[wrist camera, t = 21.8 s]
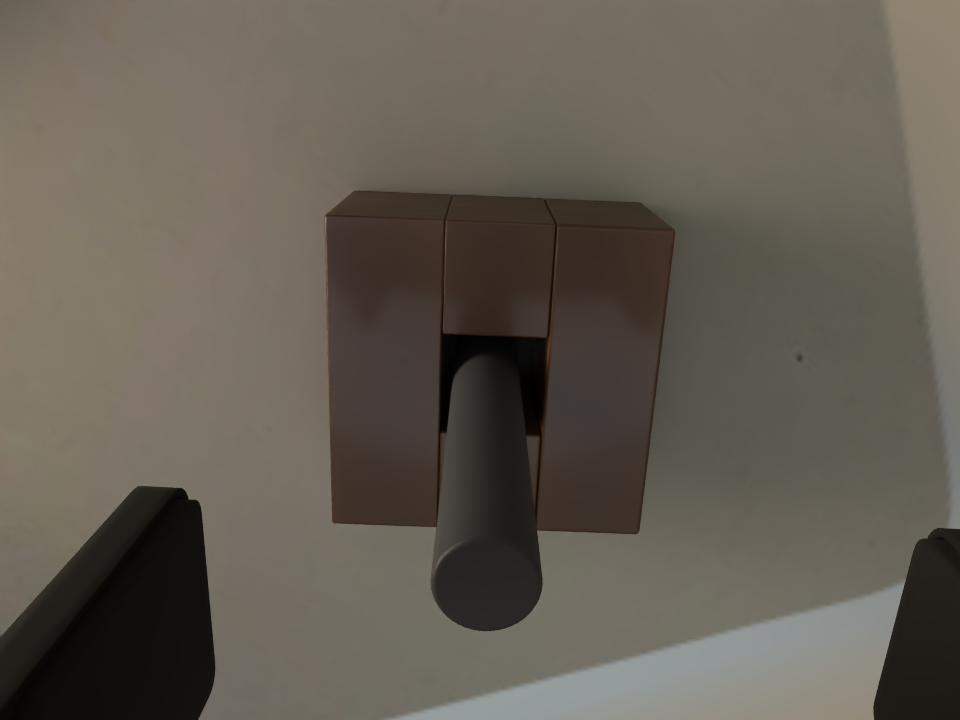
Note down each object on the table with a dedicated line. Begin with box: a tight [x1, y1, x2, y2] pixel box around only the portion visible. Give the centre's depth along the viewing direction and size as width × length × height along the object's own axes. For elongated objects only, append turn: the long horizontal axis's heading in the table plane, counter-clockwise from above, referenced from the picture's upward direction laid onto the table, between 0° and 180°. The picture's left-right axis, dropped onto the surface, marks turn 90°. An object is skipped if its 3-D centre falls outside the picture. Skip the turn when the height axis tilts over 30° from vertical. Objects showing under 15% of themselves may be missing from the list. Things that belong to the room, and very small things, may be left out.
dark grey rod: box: [431, 335, 542, 631], centre depth 17 cm, size 2×2×12 cm
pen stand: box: [325, 191, 675, 534], centre depth 20 cm, size 8×8×4 cm
